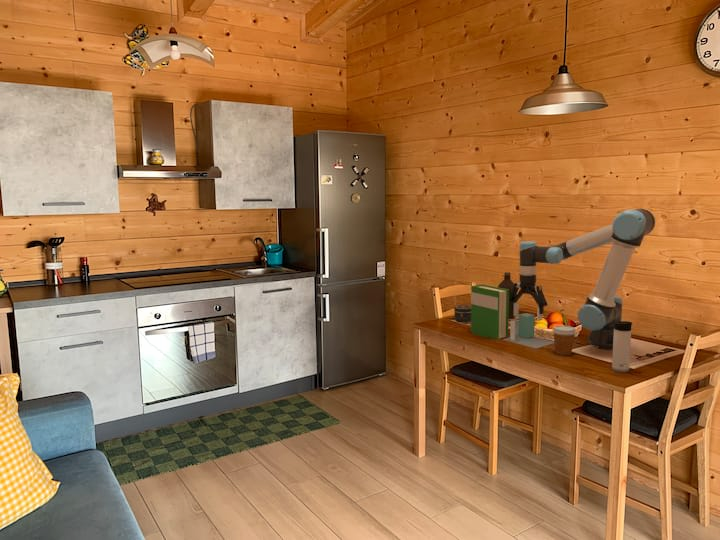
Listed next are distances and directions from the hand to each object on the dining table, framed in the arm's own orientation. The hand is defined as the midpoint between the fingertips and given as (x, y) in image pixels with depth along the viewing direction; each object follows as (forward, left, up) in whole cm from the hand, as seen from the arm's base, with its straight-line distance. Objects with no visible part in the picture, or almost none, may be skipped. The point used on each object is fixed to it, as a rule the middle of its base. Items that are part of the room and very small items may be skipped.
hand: (527, 318), depth 268 cm
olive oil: (+34, -27, -10) cm, 45 cm away
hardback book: (+15, +10, -10) cm, 21 cm away
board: (-5, +5, -10) cm, 12 cm away
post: (0, +9, -10) cm, 14 cm away
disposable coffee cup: (-26, +9, -10) cm, 29 cm away
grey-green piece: (0, 0, -9) cm, 9 cm away
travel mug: (-52, +9, -10) cm, 53 cm away
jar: (+44, -3, -10) cm, 46 cm away
